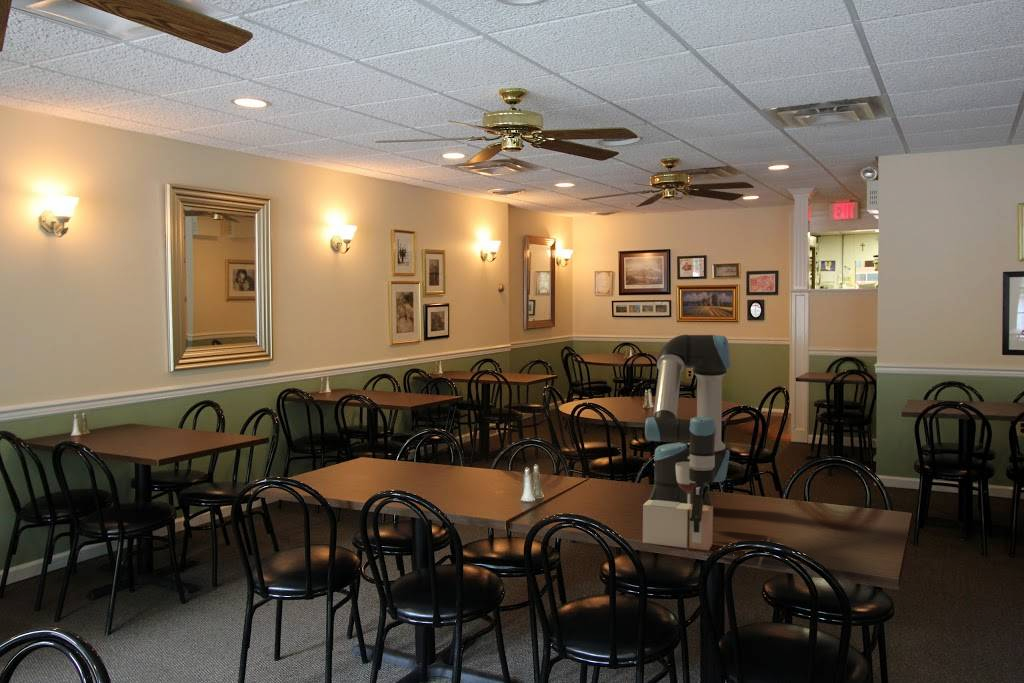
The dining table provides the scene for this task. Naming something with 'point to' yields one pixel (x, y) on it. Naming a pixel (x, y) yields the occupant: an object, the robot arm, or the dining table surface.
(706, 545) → the stub
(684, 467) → the wineglass
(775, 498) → the dining table surface
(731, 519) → the dining table surface
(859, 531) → the dining table surface
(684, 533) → the beige rectangular block
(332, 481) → the dining table surface
